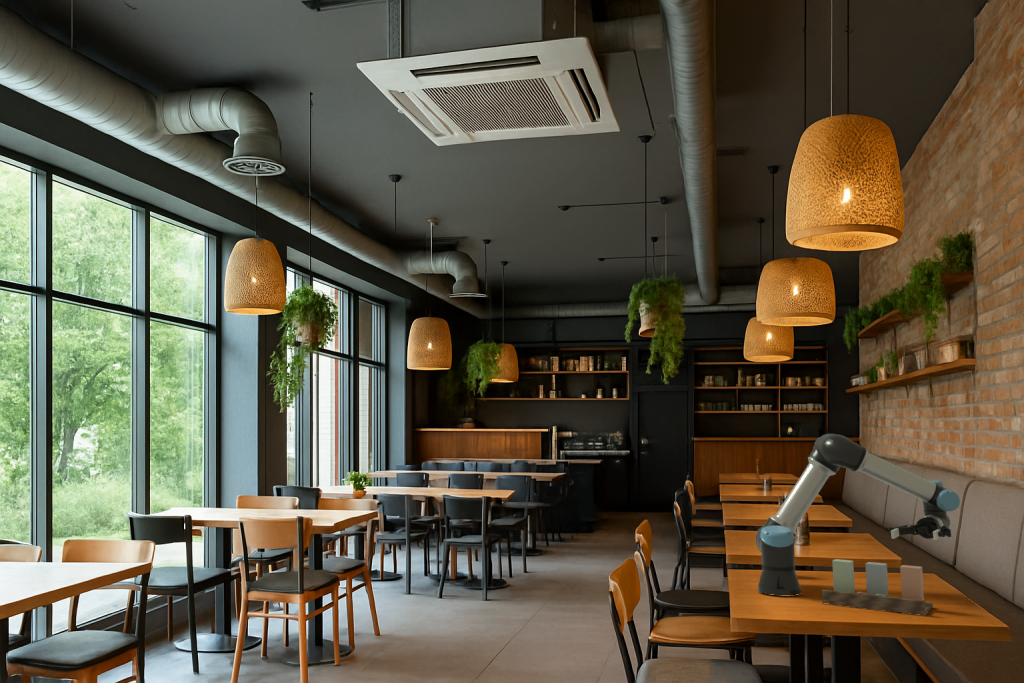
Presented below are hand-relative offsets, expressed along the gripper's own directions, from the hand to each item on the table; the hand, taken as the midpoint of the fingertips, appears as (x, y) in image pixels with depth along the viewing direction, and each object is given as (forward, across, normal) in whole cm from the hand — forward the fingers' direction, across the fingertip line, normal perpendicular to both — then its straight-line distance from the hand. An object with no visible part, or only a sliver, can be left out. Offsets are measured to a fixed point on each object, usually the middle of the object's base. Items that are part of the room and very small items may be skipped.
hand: (912, 535), depth 280 cm
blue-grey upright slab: (+10, +11, -21) cm, 25 cm away
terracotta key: (+9, 0, -21) cm, 23 cm away
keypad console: (+12, +11, -22) cm, 27 cm away
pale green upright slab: (+11, +22, -20) cm, 31 cm away
